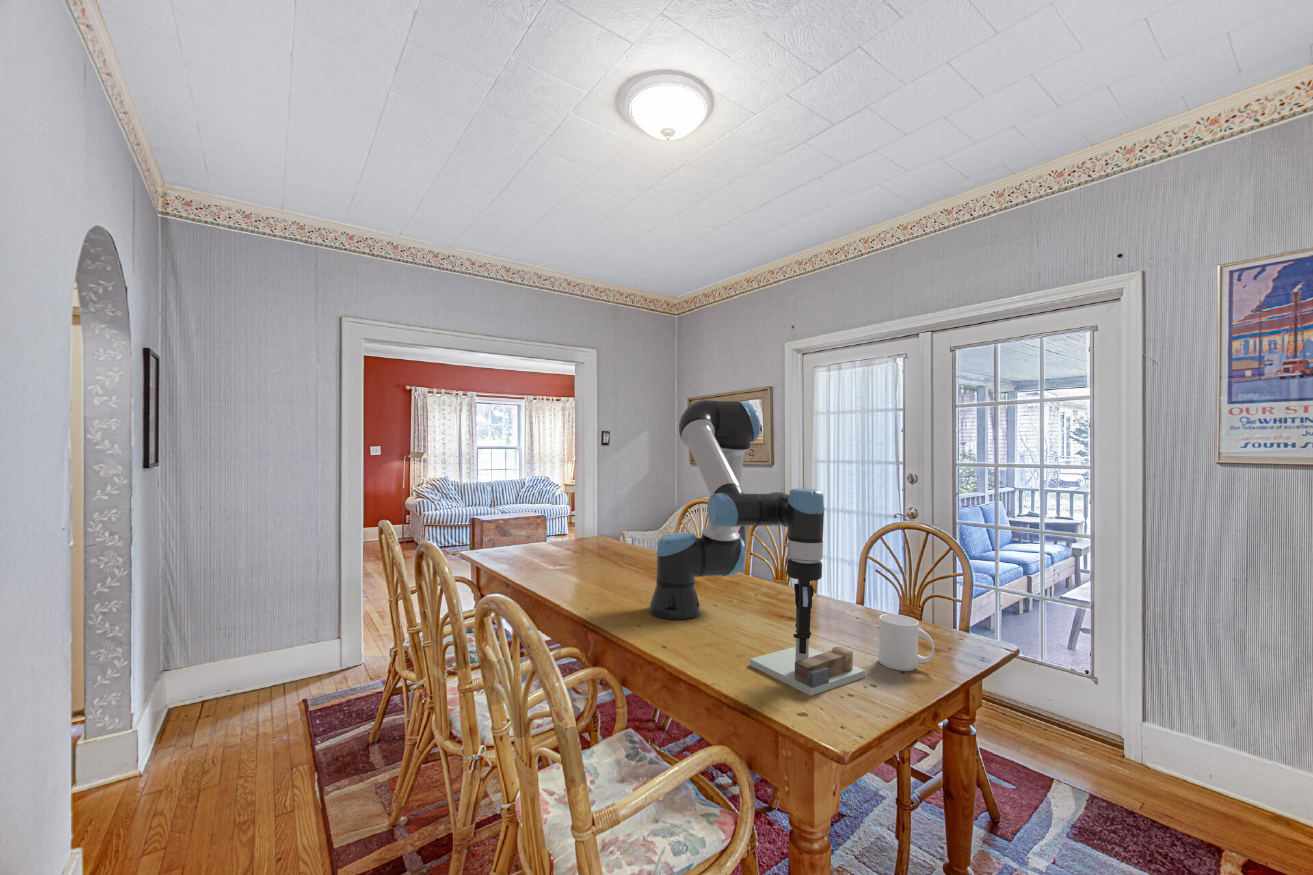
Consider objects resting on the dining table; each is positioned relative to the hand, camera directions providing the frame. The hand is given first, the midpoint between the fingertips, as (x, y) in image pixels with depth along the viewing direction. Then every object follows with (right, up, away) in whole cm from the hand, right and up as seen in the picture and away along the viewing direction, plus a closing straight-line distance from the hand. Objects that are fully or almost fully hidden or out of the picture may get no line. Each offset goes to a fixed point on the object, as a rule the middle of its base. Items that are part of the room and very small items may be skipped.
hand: (801, 665), depth 122 cm
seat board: (+2, -3, +4) cm, 5 cm away
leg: (+5, -1, -1) cm, 5 cm away
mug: (+27, -4, +8) cm, 28 cm away
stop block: (+2, -1, -6) cm, 7 cm away
